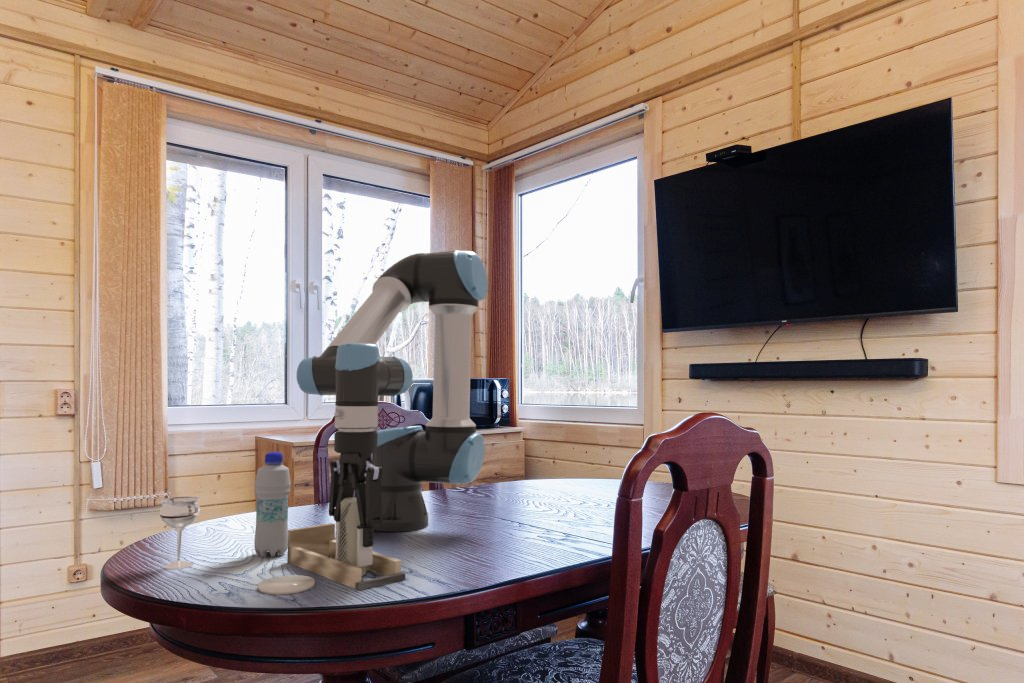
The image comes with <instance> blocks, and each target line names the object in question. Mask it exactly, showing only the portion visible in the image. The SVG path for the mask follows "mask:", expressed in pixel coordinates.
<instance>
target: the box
mask: <svg viewBox="0 0 1024 683" xmlns="http://www.w3.org/2000/svg"><path fill="white" fill-rule="evenodd" d="M340 517H341V518H340V560H339V561H341V562H344V563H346V564H349V565H352V566H355V567H357V526H359V525H360V519H359V513H358V506H357V500H356V496H355V497H354V496H353V497H349V498H345V499H343V500H342V501H341V514H340ZM358 568H361V569H362V576H364V575H366V572H367V571H368V570H367V568H368V565H367V566H362V567H358Z"/></svg>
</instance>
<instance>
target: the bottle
mask: <svg viewBox="0 0 1024 683" xmlns="http://www.w3.org/2000/svg"><path fill="white" fill-rule="evenodd" d="M283 460H284V456H283V453H282V452H279V451H270V452H267V453H266V454H265V456H264V465H263V466H261V467H259V468H258V469H257V471H256V479H255V481H254V482H255V483H254V488H255V491H254V492H255V494H256V510H255V512H256V514H255V531H254V533H255V534H254V541H253V542H254V544H253V545H254V546H253V547H254V551H255V553H256V555H257V556H261V557H262V558H266V557H267V554H268V553H269V554H270V557H271V558H274V557H275V556H276V553H277V555H278V556H282V555H283V554H285V553H286V551H288V530H289V522H288V520H289V519H288V517H289V493H290V492H291V485H292V483H291V475H290V468H289V467H288V466H285V465H284V464H283V462H284V461H283Z"/></svg>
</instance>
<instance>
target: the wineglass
mask: <svg viewBox="0 0 1024 683" xmlns="http://www.w3.org/2000/svg"><path fill="white" fill-rule="evenodd" d="M200 500H201V497H198V496H173V497H172V496H171V497H167V498H163V499H161V500H160V503H161V505H162V506H161V508H160V510H159V516H160V519H161V521H163V523H165V525H167V526H169V527H170V528H174V530H175V532H176V533H177V534H176V537H177V538H176V540H177V545H176V546H177V549H176V550H177V555H176V556H177V560H176V561H175V560H174V561H173V562H169V563H166V564H165V565H164V566H163V568H164V569H167V570H179V569H184V568H185V569H187V568H189V567H191V566H193V565H194V563H193V562H189V561H184V560H181V549H182V547H181V546H182V535H183V531H184V530H185V528H186V527H188V526H190V525H192V524H193V523H194V522H195V521H196V520H197V519H198V518H199V515H200V512H201V506H200V504H199V501H200Z"/></svg>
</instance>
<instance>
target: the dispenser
mask: <svg viewBox="0 0 1024 683" xmlns="http://www.w3.org/2000/svg"><path fill="white" fill-rule="evenodd" d="M335 558H336V523H332V522H331V523H330V522H329V523H326V524H318V525H312V526H305V527H299V528H292V529H288V547H287V563H288V564H290V565H292V566H296V567H298V568H300V569H303V570H305V571H309V572H311V573H313V574H317V575H319V576H322V577H324V578H326V579H329V580H331V581H334V582H337V583H339V584H342V585H344V586H347V587H350V588H352V589H355V590H357V591H362V590H366V589H370V588H374V587H379V586H383V585H387V584H392V583H396V582H400V581H405V580H406V572H402V560H401V559H398V558H395V557H392V556H390V555H389V556H388V555H385V554H382V553H379V552H377V551H373V560H372V565H368V568H367V570H366V571H370V572H373V573H376V574H378V575H383V576H379V577H376V578H371V579H366V580H362V578H363V577H362V569H361V568H358V567H355V566H352V565H349V564H346V563H344V562H341V561H340V559H338V560H337V559H335Z"/></svg>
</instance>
